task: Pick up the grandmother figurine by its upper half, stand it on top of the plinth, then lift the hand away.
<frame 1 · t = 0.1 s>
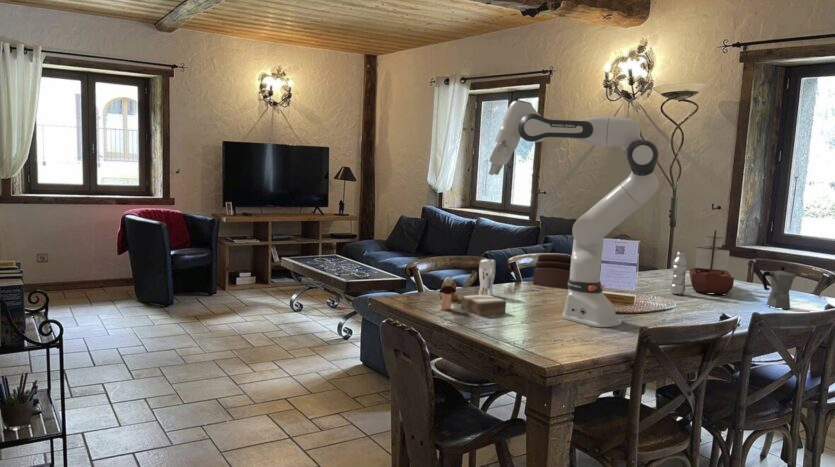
hand: (493, 174, 249), 52 cm above the table, tool tilted 20°, fingers open, 8 cm apart
plinth: (483, 311, 246), on the table
sailing ship: (708, 289, 313), on the table
letter holder: (555, 285, 305), on the table
grandmother figurine: (446, 310, 245), on the table
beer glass: (485, 295, 275), on the table
plastic bottle: (677, 294, 296), on the table
ornamental finial: (448, 299, 264), on the table
coffeepot: (775, 307, 278), on the table
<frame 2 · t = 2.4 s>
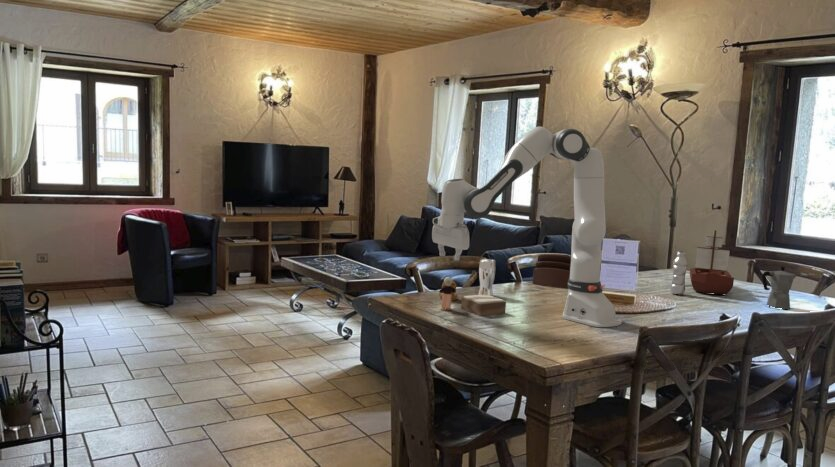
hand: (449, 258, 243), 20 cm above the table, tool pointing down, fingers open, 8 cm apart
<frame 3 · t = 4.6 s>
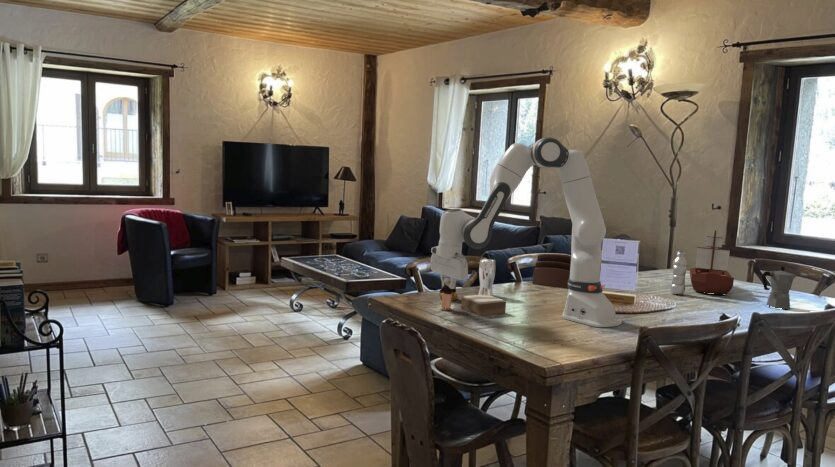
hand: (448, 287, 244), 9 cm above the table, tool pointing down, fingers closed on grandmother figurine, 3 cm apart
grandmother figurine: (446, 309, 245), on the table, touching gripper
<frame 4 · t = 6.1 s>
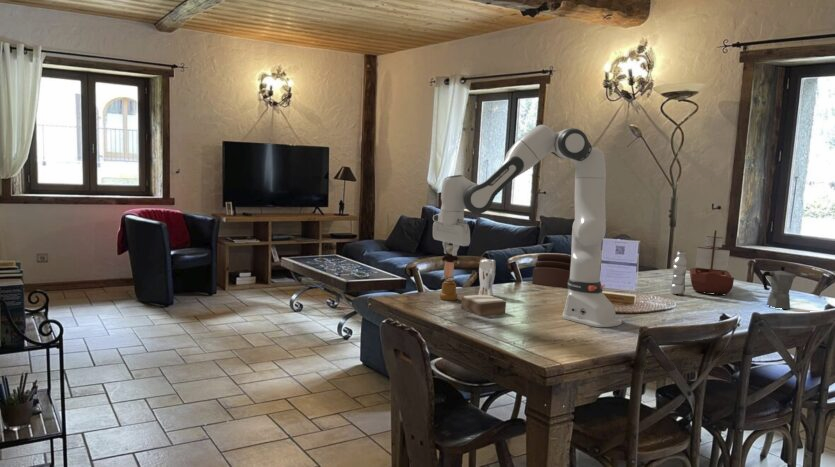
hand: (450, 254, 243), 21 cm above the table, tool pointing down, fingers closed on grandmother figurine, 3 cm apart
grandmother figurine: (449, 278, 244), point 12 cm above the table, touching gripper
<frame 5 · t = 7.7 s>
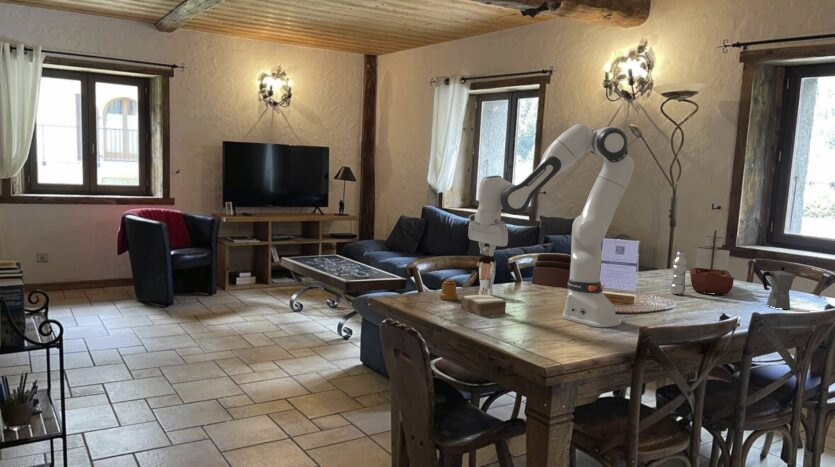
hand: (486, 254, 243), 22 cm above the table, tool pointing down, fingers closed on grandmother figurine, 3 cm apart
grandmother figurine: (486, 280, 244), point 12 cm above the table, touching gripper
when the fingers open (15 cm above the table, at t = 9.5 s): grandmother figurine moves 2 cm, resting on plinth.
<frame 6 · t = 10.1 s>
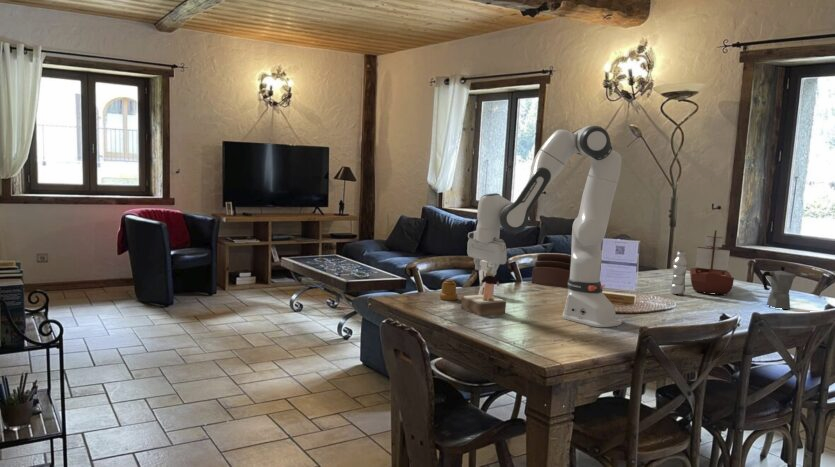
hand: (485, 272, 244), 15 cm above the table, tool pointing down, fingers open, 8 cm apart
grandmother figurine: (489, 300, 243), point 5 cm above the table, touching gripper, plinth
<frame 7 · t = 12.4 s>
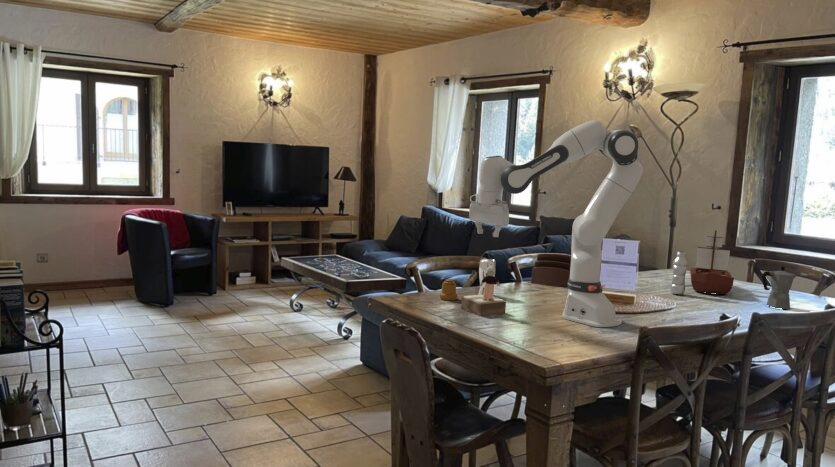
hand: (487, 235, 243), 29 cm above the table, tool pointing down, fingers open, 8 cm apart
grandmother figurine: (489, 300, 243), point 5 cm above the table, touching plinth
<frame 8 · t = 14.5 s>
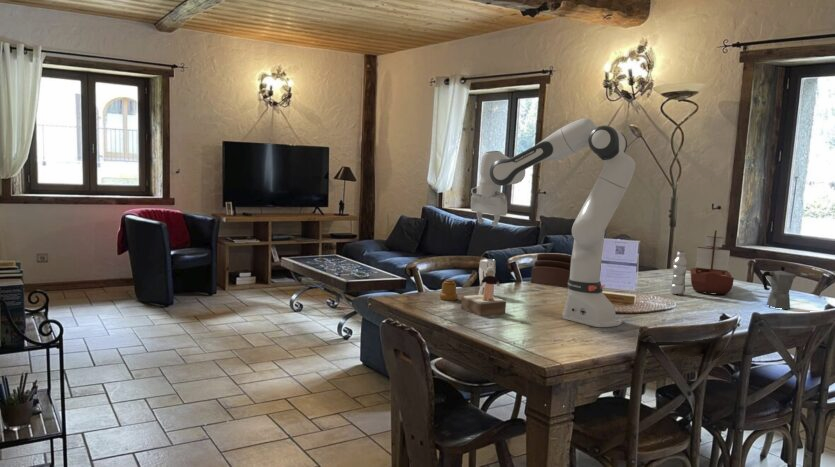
hand: (487, 224, 263), 31 cm above the table, tool pointing down, fingers open, 8 cm apart
at the end: grandmother figurine inside the target area on the plinth (2.9 cm from its centre), point 4.8 cm above the plinth's base; grandmother figurine tilted 0°; the gripper is holding nothing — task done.
